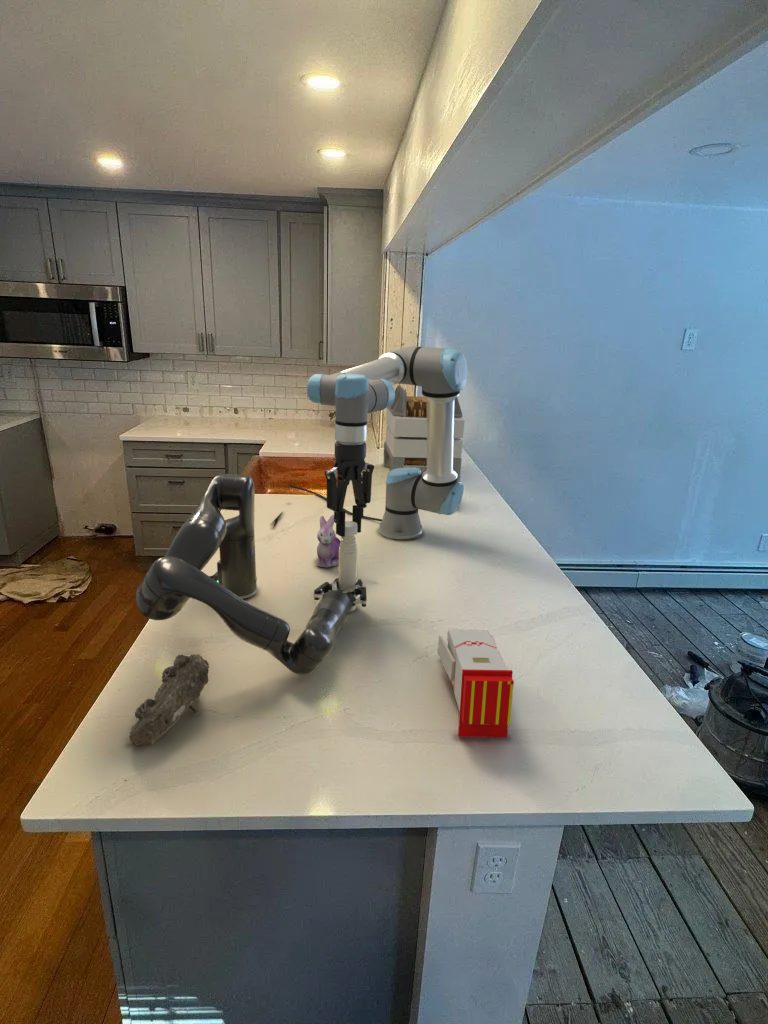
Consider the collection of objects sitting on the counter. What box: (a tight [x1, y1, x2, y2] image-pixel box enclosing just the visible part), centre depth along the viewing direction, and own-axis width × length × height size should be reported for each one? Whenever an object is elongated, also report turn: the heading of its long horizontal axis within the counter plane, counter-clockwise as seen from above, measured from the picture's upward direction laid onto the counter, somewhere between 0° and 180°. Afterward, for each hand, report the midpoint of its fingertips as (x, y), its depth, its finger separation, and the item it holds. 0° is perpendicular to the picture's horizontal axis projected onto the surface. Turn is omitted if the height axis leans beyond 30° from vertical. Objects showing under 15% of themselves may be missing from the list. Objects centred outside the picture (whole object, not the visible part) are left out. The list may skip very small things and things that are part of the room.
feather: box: [270, 512, 283, 529], centre depth 212 cm, size 2×28×2 cm
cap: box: [345, 520, 358, 536], centre depth 142 cm, size 4×4×2 cm
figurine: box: [316, 514, 341, 568], centre depth 173 cm, size 9×10×15 cm
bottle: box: [337, 535, 358, 613], centre depth 146 cm, size 5×5×23 cm
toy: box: [437, 628, 515, 738], centre depth 117 cm, size 12×13×30 cm
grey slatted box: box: [383, 384, 465, 482], centre depth 268 cm, size 34×33×41 cm
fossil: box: [128, 653, 210, 746], centre depth 108 cm, size 22×10×15 cm
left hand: (350, 581), depth 150 cm, fingers closed on bottle, 4 cm apart
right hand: (348, 532), depth 142 cm, fingers closed on cap, 4 cm apart
